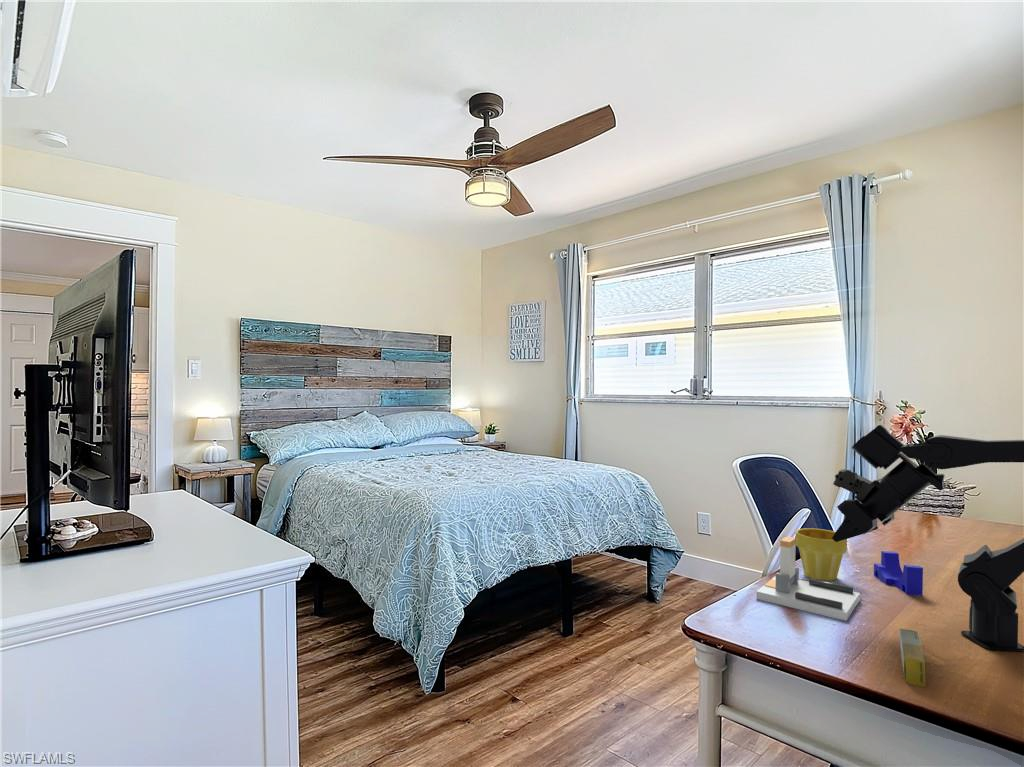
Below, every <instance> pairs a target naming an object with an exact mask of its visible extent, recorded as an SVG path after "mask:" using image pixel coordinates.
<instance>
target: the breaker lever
mask: <svg viewBox="0 0 1024 767" xmlns="http://www.w3.org/2000/svg"><path fill="white" fill-rule="evenodd" d="M779 542H780V543H779V544H780V545H779V547H780V548H779V549H780V551H779V552H780V553H779V554H780V555H779V557H780V558H779V573H782V574H786V575H790V584H791V583H792V582H793V581H794V580H795V576H794V575H795V567H796V547H797V546H796V537H792V536H785V537H783V538H782V539H780V541H779Z"/></svg>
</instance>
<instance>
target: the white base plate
mask: <svg viewBox="0 0 1024 767" xmlns="http://www.w3.org/2000/svg"><path fill="white" fill-rule="evenodd" d="M799 569H800V567H799V566H795V575H794V576H795V580H794V581H793V582H792V583H791V584H790V575H786V574H782V573H780V572H776V573H775V575H774V577H772V578H770V579H769V581H767V582H766V583H765V584H764V585H763V586H761V587H760V588H759V589H757V590H756V597H755V598H756V600H760V601H764V602H768V603H772V604H776V605H780V606H784V607H788V608H792V609H796V610H801V611H804V612H809V613H812V614H818V615H821V616H825V617H829V618H833V619H838V620H841V621H846V622H847V621H848V619H849V617H850V616H851V614H852V612H854V610H855V608H856V606H858V604H859V602H860V600H861V593H860V592H858V591H854V589H855V588H854V587H852V586H848V585H843V584H838V583H834V582H830V581H824V580H817V579H813V578H809V579H808V581H806V580H803V579H799V578H800V577H799V576H800V575H799V574H800V570H799Z"/></svg>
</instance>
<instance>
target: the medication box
mask: <svg viewBox="0 0 1024 767" xmlns="http://www.w3.org/2000/svg"><path fill="white" fill-rule="evenodd" d="M899 644H900V645H899V646H900V647H899V648H900V656H901V663H902V664H901V665H902V670H903V677H904V678H903V679H904V682H905V683H907V684H910V685H914V686H919V687H924V688H926V687H927V686H926V683H927V682H926V662H925V658H924V653H923V652H924V651H923V648H922V643H921V639H920V634H919V632H918V631H915V630H909V629H903V628H900V629H899Z"/></svg>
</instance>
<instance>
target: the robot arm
mask: <svg viewBox="0 0 1024 767" xmlns="http://www.w3.org/2000/svg"><path fill="white" fill-rule="evenodd" d="M851 450H853V451H854V452H856V453H857V455H859V456H860V457H862V459H864V460H865V462H867V463H868V464H869V465H870V466H871V467H873V468H874V469H875V470H877V469H878V468H879V469H882V468H883V469H884V470H887V469H888V468H890V467H891V466H892V465H893V464H894V463H895V462H897V461H898V460H899V459H900V460H901V461H900V462H899V463H898V464H897V465H896V466H894V467H893V468H892V469H891V470H889V472H888V473H886V474H885V475H884V476H883V477H881V478H878V479H874V480H870V479H867V478H865V477H863V476H861V475H860V474H858V473H857V472H853V471H852V470H851V469H840V470H839V471H838V473H837V474H835V475H834V478H835V480H834V481H833V483H832V484H833V485H834V487H835V486H836V487H837V488H842V489H844V490H846V491H848V492H851V493H852V494H854V495H855V496H854V499H852V498H851V499H850V498H849V499H845V500H843V501H842V502H841V503H840V504H838V505H837V506H836V508H837V510H838V511H839V512H840V513H842V515H843V516H844V517H845V518H844V519H843V521H842V522H841V524H840V525H839V526H838V528H837V530H836V531H834V532H835V534H834V535H833V537H832V539H833V540H834V541H835V542H838V541H842V540H845V539H847V540H848V539H851V538H854V537H857V536H861V535H866V534H869V533H871V532H874V531H876V530H878V529H879V527H878V523H879V522H878V520H879V521H880V522H881V525H883V526H888V525H889V524H890V523H891V522H893V520H895V514H896V513H897V512H898V511H899V510H900V509H901V508H902V507H906V505H907V504H909V503H910V501H911V500H912V499H914V498H915V497H916V496H917V495H918V494H920V493H921V492H922V491H924V490H925V489H926V488H927V487H929V486H930V485H932V486H933V487H935V489H937V490H938V491H944V490H943V489H944V488H945V484H944V479H945V477H946V476H945V474H944V473H935V472H934V471H933V470H932V469H935V470H936V469H937V470H948V469H955V468H963V467H969V466H974V465H979V464H986V463H987V464H988V463H1024V439H1006V440H1005V439H1004V440H1003V439H997V440H996V439H995V440H994V439H993V440H984V439H978V438H977V439H976V438H969V437H963V436H960V437H959V436H953V435H943V434H942V435H941V434H940V435H934V436H932V437H930V438H928V439H926V440H925V441H924V442H918V443H913V442H910V443H907V444H904V443H903V442H901V440H900V439H898V438H897V437H896V436H894V435H893V434H892V433H890V431H889V430H888V429H887V428H886V427H885V426H883V425H882V424H879V425H877V426H875V428H873V429H872V430H871V431H870V432H868V433H867V434H866V435H863V436H862V437H860V438H858V440H857V441H856V442H855V443H854V444H853V445H852V446H851ZM913 460H919V461H923V462H921V463H920V464H919V465H918V464H917V463H916V462H914V461H913ZM928 466H929V467H928ZM931 468H932V469H931ZM1023 573H1024V537H1023V538H1022V539H1020V540H1018V541H1016V542H1014V543H1012V544H1010V545H1009V546H1006V547H1004V548H1000V549H996V550H993V551H992V550H991V549H990V548H989V546H988V545H987V544H984V545H983V546H981V547H980V548H979V549H978V550H977V551H975V552H973V553H970V554H965V555H964V556H963V561H962V563H961V564H960V565H959V569H958V574H957V582H958V586H959V588H960V589H961V590H962V592H963V593H965V594H966V595H967V596H969V597H970V606H969V619H968V620H969V622H968V623H969V624H968V629H969V630H961V631H960V634H961V635H963V636H965V637H966V638H968V639H969V640H971V641H973V642H974V643H977V644H978V645H980V646H981V647H983V648H985V649H987V650H990V651H1013V652H1014V651H1015V652H1016V651H1017V652H1018V651H1019V652H1024V645H1023V644H1021V643H1019V613H1018V612H1017V608H1018V602H1017V601H1018V600H1017V592H1016V591H1015V590H1014V589H1013V588H1012V587H1011V585H1012V584H1013V583H1014V582H1015V581H1016V580H1017V579H1018V578H1019V577H1020V576H1021V575H1022V574H1023Z"/></svg>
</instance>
